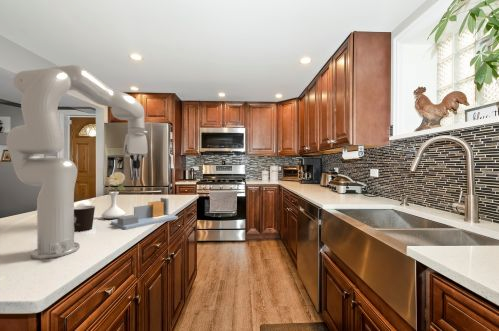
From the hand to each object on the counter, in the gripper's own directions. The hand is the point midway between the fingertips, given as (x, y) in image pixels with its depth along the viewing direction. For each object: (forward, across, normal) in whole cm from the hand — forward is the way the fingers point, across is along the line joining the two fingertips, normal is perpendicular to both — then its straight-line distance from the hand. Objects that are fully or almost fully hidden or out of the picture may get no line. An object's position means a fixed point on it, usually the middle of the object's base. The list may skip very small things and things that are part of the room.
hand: (136, 168), depth 119 cm
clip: (+25, -10, 0) cm, 27 cm away
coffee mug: (+27, +21, -6) cm, 35 cm away
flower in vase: (+27, +3, -18) cm, 33 cm away
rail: (+27, -4, +2) cm, 27 cm away
